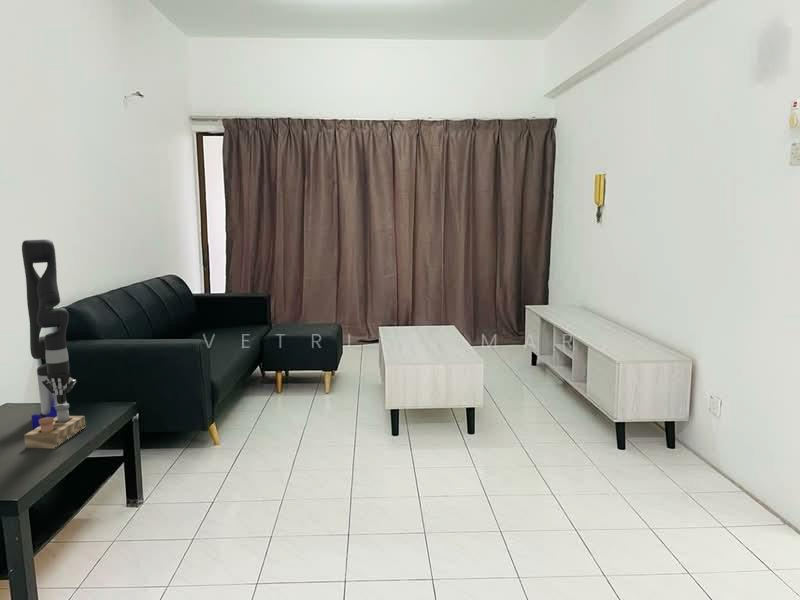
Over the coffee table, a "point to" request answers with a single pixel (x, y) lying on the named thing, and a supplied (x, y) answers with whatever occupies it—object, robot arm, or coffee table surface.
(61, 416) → the grey plunger
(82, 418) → the oak board
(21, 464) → the coffee table surface
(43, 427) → the terracotta plunger
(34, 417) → the cable clip
